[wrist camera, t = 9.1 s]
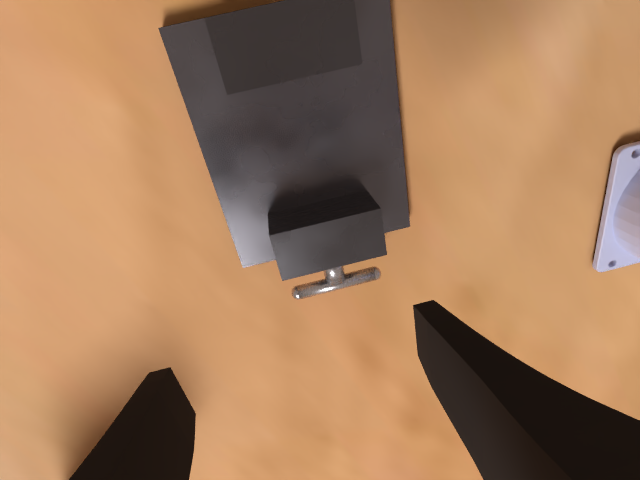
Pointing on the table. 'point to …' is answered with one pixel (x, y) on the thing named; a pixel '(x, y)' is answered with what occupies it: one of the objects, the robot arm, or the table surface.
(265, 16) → the vise
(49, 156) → the table surface
